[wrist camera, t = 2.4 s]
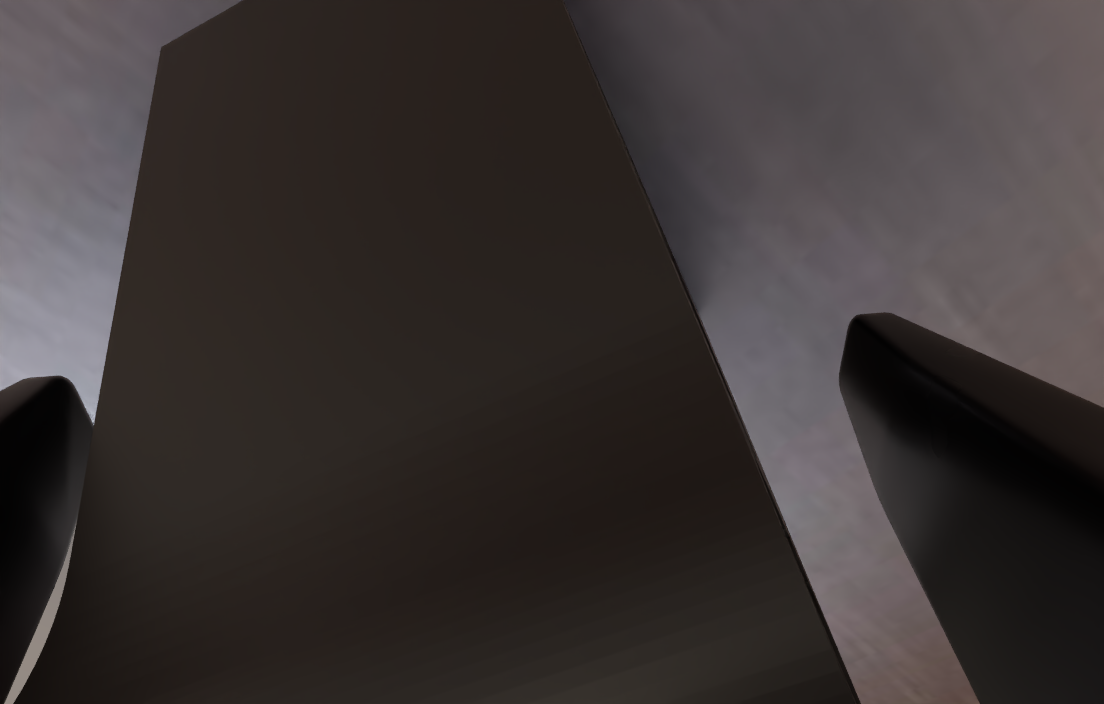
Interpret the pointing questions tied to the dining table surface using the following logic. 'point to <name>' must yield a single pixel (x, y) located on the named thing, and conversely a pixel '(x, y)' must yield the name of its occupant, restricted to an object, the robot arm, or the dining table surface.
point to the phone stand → (414, 395)
